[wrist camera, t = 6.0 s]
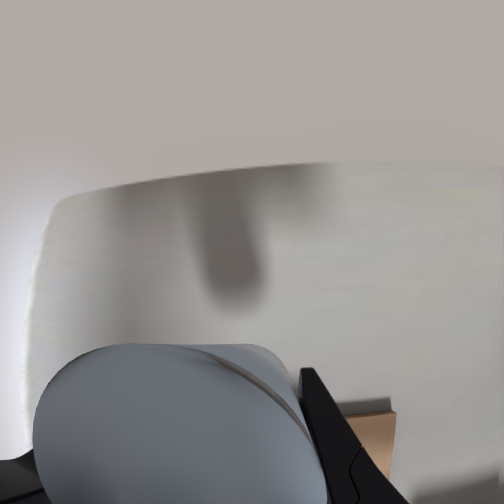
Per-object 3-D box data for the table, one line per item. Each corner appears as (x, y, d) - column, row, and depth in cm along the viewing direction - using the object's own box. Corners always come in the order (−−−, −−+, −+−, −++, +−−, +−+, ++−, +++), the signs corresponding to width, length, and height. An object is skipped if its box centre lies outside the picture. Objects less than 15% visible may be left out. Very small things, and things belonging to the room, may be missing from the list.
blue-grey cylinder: (219, 436, 15) (107, 585, 2) (190, 359, 16) (4, 374, 4) (302, 410, 15) (360, 564, 2) (272, 331, 16) (255, 294, 4)
